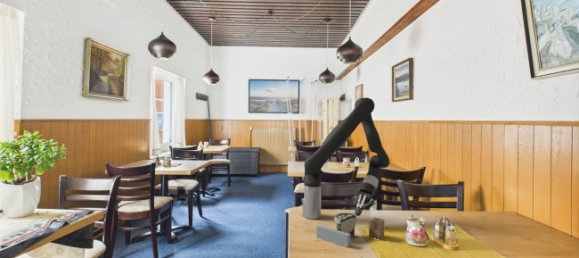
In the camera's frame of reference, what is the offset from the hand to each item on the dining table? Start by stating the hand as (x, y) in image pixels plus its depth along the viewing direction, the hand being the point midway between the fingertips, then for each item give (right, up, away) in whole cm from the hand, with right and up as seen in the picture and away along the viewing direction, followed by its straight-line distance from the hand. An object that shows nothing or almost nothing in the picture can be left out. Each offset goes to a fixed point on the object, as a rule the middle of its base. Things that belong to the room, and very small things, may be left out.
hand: (356, 215), depth 145 cm
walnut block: (+7, -7, -10) cm, 14 cm away
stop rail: (-14, -7, -15) cm, 22 cm away
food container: (-9, -7, -10) cm, 15 cm away
